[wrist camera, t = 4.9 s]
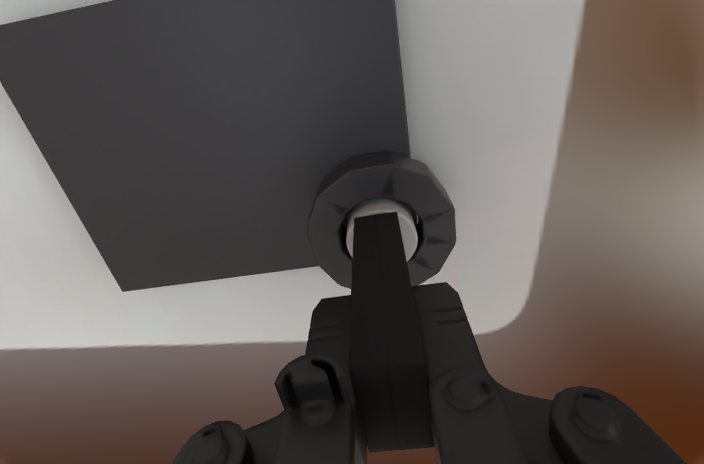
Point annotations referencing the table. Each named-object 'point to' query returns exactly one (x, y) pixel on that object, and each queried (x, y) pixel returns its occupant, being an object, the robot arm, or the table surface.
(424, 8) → the table surface
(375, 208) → the button
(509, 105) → the table surface
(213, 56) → the scale
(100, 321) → the table surface
